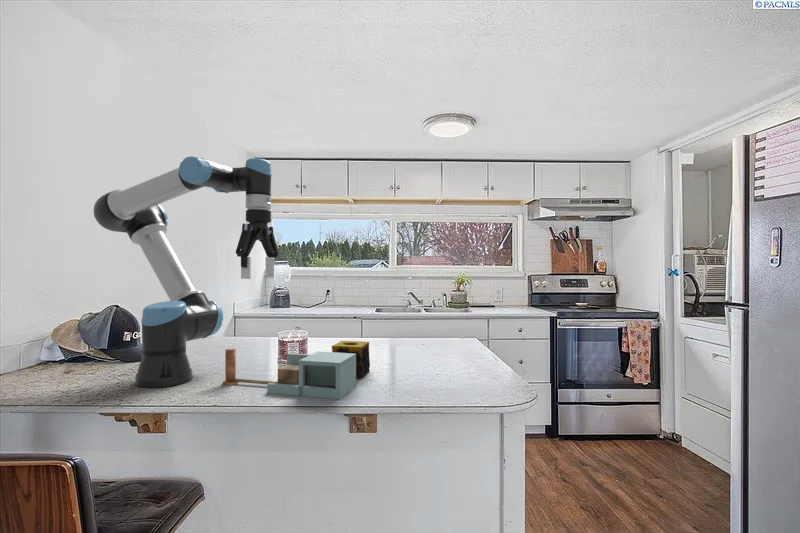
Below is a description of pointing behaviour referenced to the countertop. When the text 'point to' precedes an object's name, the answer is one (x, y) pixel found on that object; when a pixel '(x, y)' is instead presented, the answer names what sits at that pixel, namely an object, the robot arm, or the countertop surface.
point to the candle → (361, 355)
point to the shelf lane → (320, 375)
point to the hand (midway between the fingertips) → (258, 278)
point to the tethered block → (285, 376)
